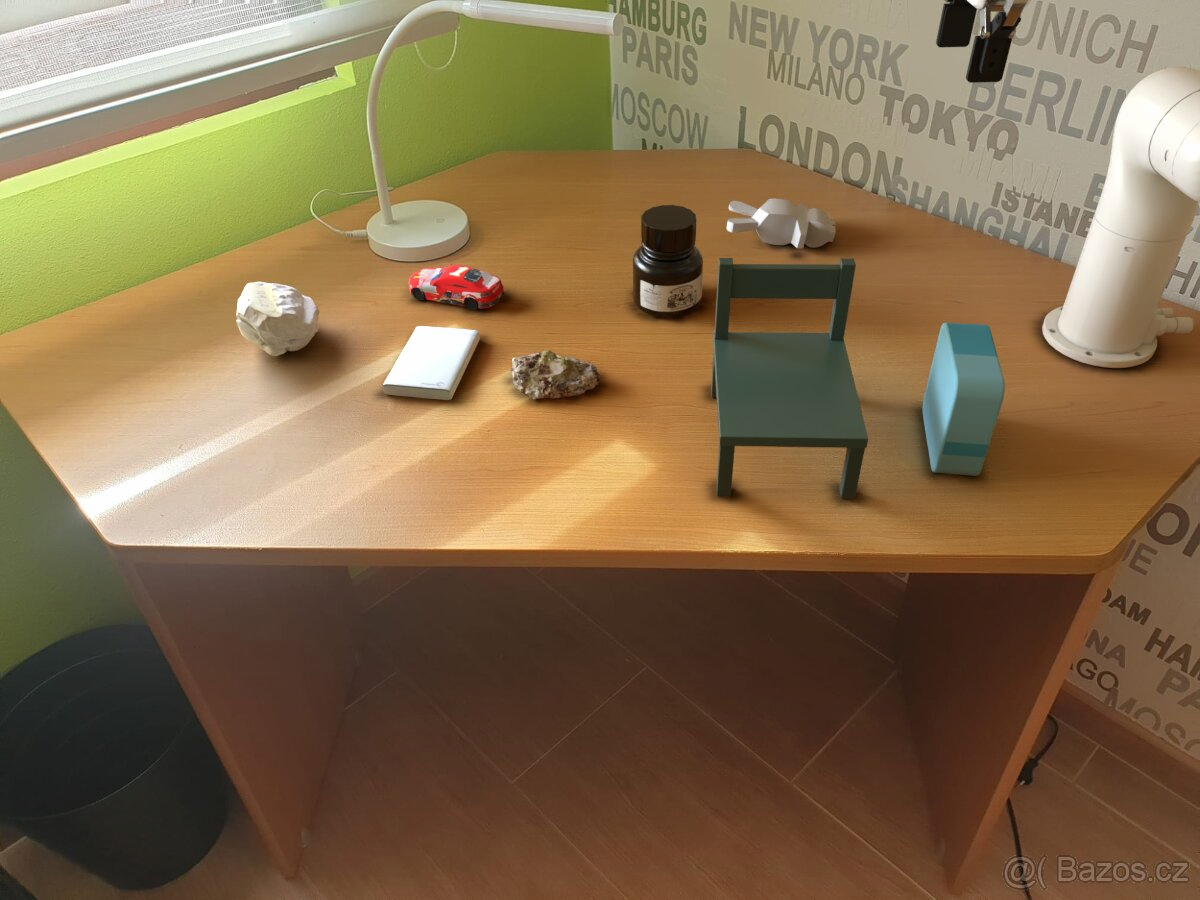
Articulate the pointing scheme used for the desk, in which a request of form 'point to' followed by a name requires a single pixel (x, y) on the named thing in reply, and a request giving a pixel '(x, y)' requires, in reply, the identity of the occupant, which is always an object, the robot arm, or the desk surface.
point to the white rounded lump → (276, 317)
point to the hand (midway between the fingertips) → (966, 63)
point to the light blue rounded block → (962, 398)
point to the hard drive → (432, 363)
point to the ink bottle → (667, 263)
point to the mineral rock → (552, 375)
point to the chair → (786, 370)
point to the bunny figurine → (784, 223)
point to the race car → (457, 286)
